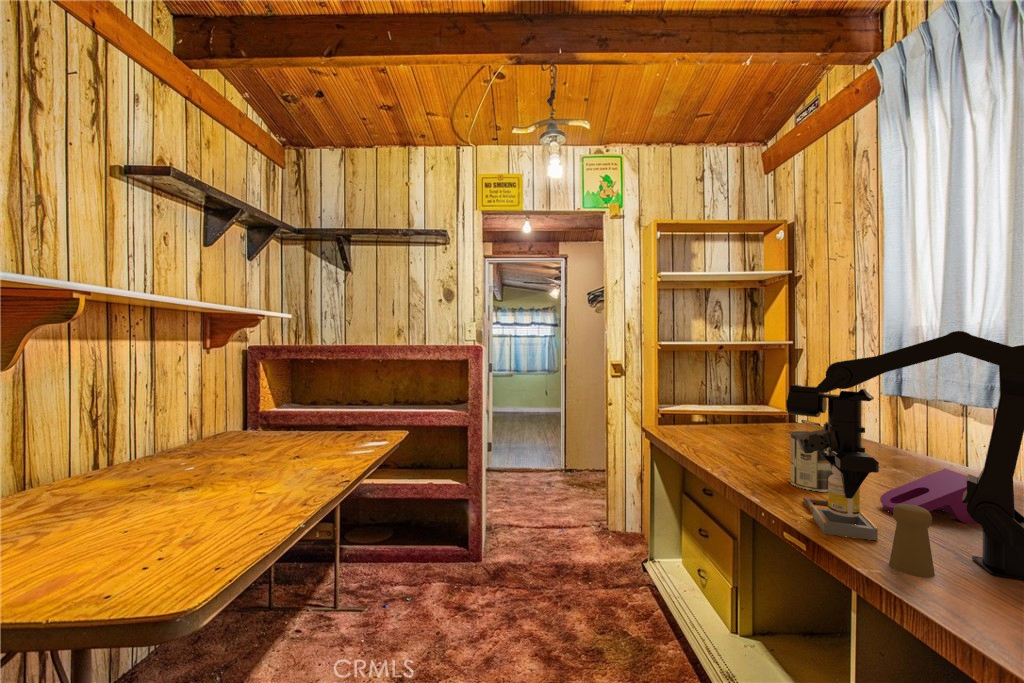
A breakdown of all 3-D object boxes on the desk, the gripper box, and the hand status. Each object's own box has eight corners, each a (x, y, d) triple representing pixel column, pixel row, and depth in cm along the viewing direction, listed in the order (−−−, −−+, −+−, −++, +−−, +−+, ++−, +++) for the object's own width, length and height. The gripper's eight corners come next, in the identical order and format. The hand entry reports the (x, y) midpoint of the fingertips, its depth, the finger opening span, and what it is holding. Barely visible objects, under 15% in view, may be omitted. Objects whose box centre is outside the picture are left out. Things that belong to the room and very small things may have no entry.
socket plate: (877, 541, 90) (877, 527, 90) (824, 534, 93) (824, 521, 93) (861, 523, 98) (861, 511, 98) (812, 517, 101) (812, 505, 101)
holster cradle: (854, 518, 101) (854, 511, 101) (811, 513, 104) (811, 506, 104) (843, 506, 108) (843, 500, 108) (803, 501, 111) (803, 495, 111)
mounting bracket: (916, 547, 100) (999, 516, 98) (899, 512, 100) (981, 481, 98) (886, 529, 109) (961, 500, 107) (870, 497, 110) (945, 468, 107)
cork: (912, 559, 82) (912, 499, 82) (945, 577, 76) (945, 512, 76) (880, 560, 82) (880, 500, 82) (910, 577, 76) (911, 513, 76)
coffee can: (830, 483, 125) (831, 432, 125) (839, 494, 116) (839, 440, 116) (787, 478, 130) (788, 429, 130) (792, 489, 121) (793, 436, 120)
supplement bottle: (852, 509, 97) (853, 464, 97) (864, 519, 92) (865, 471, 92) (823, 506, 99) (824, 462, 98) (834, 516, 93) (834, 469, 93)
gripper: (791, 411, 107) (790, 476, 107) (811, 425, 89) (810, 503, 89) (847, 414, 103) (847, 482, 103) (880, 429, 85) (879, 511, 85)
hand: (844, 493), depth 95 cm, fingers closed on supplement bottle, 5 cm apart
